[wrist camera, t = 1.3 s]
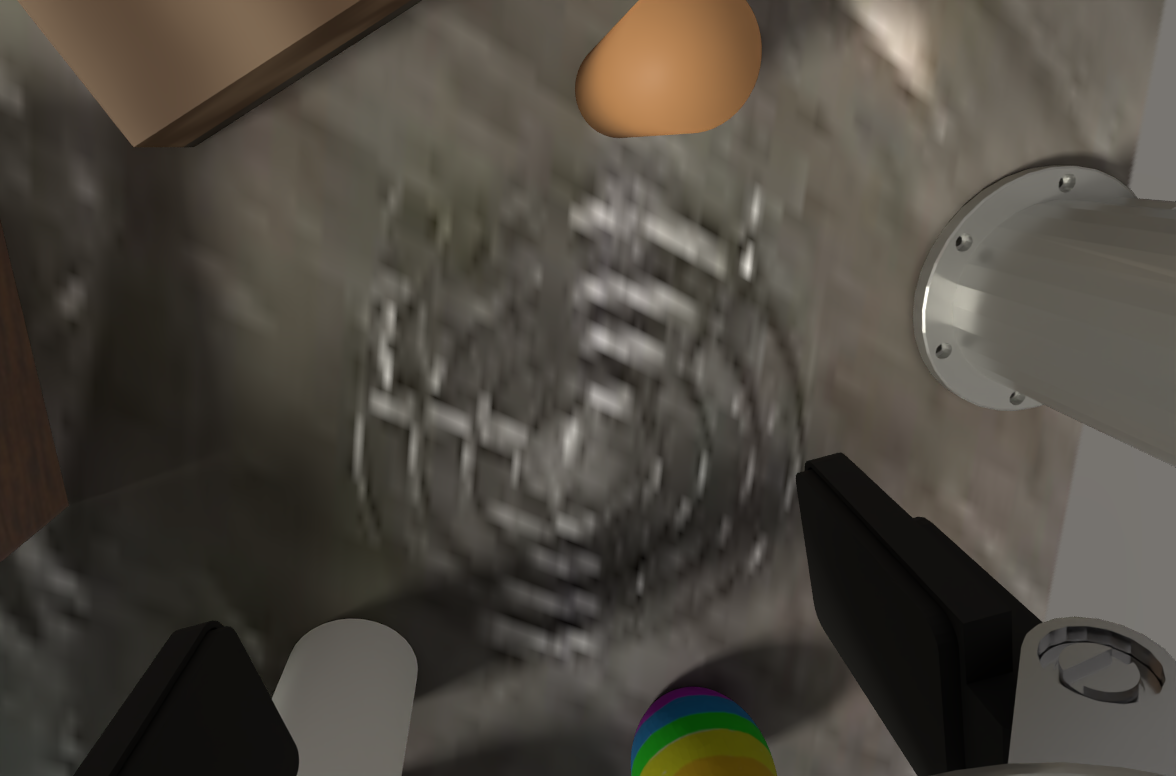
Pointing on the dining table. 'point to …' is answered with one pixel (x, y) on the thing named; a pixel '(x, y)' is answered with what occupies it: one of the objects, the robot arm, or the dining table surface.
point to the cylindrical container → (349, 699)
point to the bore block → (198, 55)
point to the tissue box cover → (23, 428)
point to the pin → (671, 68)
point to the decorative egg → (699, 738)
